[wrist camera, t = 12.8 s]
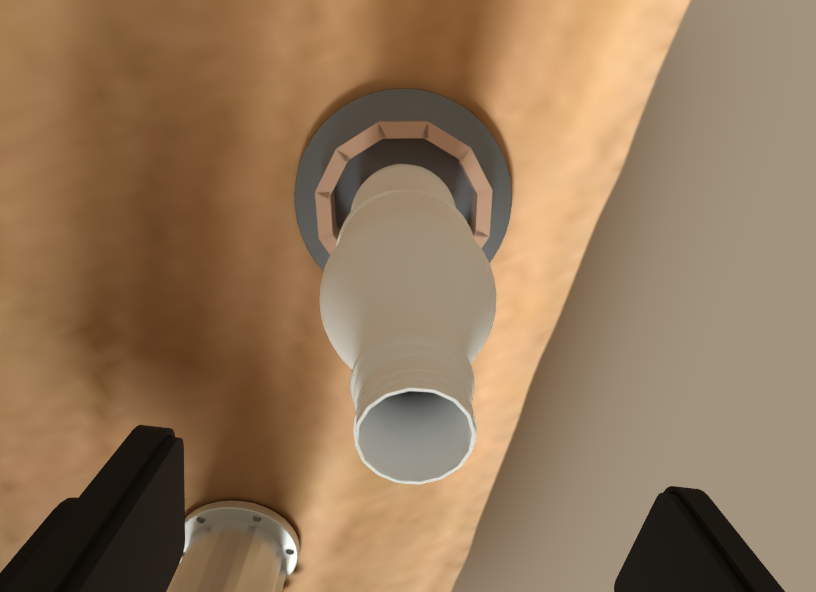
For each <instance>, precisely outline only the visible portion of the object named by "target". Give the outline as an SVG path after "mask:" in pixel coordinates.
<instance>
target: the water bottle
mask: <svg viewBox="0 0 816 592" xmlns="http://www.w3.org/2000/svg"><path fill="white" fill-rule="evenodd" d="M319 295H320V312H321V317H322V321H323V326H324V329H325V331H326V333H327V336H328V338H329V340H330V342H331V344H332V346H333V347H334V349H335V350H336V352H337V353H338V355H339V356H340V358H341V359H342V360H343V361H344V362H345V363H346V364H347V365H348V366H349V367H350V368H351V369H352V372H351V379H350V390H351V396H352V399H353V402H354V407H355V411H356V412H355V417H354V432H353V434H354V438H355V446H356V448H357V451H358V453H359V455H360V458H361V460H362V462H363V463H365V464H366V465H367V466H368V467H369V468H370V469H371V470H372V471H373V472H375V473H376V474H377V475H379V476H381V477H384V478H386V479H389V480H391V481H394V482H396V483H406V484H424V483H428V482H432V481H436V480H440V479H443V478H444V477H446V476H448V475H449V474H451V473H453V472H454V471H456V470H457V469H459V468H460V467H461V466H462V465H463V463H464V462H465V461H466V459H467V458H468V457H469V455H470V454H471V453H472V449H473V447H474V445H475V439H476V433H477V427H476V421H475V417H474V415H473V409H472V404H471V403H472V399H473V391H474V375H473V370H472V366H471V363H472V361H473V360H474V359H475V358H476V356H477V355H478V353H479V352H480V350H481V349H482V348H483V346H484V344H485V342H486V340H487V338H488V336H489V333H490V331H491V328H492V325H493V321H494V317H495V310H496V288H495V281H494V276H493V273H492V270H491V266H490V264H489V262H488V260H487V258H486V256H485V253H484V252H483V250H482V249H481V248H480V246H479V245H478V244H477V242H476V241H475V240H474V237H473V234H472V231H471V229H470V227H469V225H468V223H467V221H466V219H465V218H464V216H463V215H462V214H461V213H460V211H459V210H458V209H457V208H456V206H455V202H454V199H453V197H452V194H451V192H450V191H449V189H448V187H447V186H446V185H445V184H444V182H443V181H442V180H441V179H440V178H439V177H437V176H436V175H435V174H434V173H432V172H431V171H429V170H427V169H425V168H423V167H420V166H415V165H409V164H394V165H391V166H387V167H384V168H382V169H380V170H378V171H376V172H375V173H374V174H372V175H371V176H370V177H369V178H368V179H367V180H366V181H365V182H364V183H363V184H362V185H361V187H360V188H359V190H358V191H357V193H356V195H355V198H354V200H353V203H352V207H351V212H350V213H349V215H348V216H347V218H346V220H345V221H344V223H343V226H342V228H341V230H340V233H339V236H338V239H337V243H336V247H335V249H334V250H333V251H332V253H331V255H330V257H329V259H328V261H327V263H326V265H325V268H324V272H323V275H322V279H321V285H320V292H319Z"/></svg>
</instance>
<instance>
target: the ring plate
mask: <svg viewBox="0 0 816 592" xmlns="http://www.w3.org/2000/svg"><path fill="white" fill-rule="evenodd" d="M394 164H409V165H415V166H420V167H423V168H425V169H427V170H429V171H431V172H432V173H434V174H435V175H436V176H437V177H439V178H440V179H441V180H442V181H443V182H444V184H445V185H446V186H447V187H448V189H449V191H450V192H451V194H452V197H453V199H454V202H455V206H456V208H457V209H458V210H459V211H460V213H461V214H462V215H463V216H464V218H465V219H466V221H467V223H468V225H469V227H470V229H471V231H472V234H473V237H474V240H475V241H476V242H477V244H478V245H479V246H480V248H481V249H482V250H483V252H484V253H485V256H486V258H487V260H488V262H489V263H490V261H491V260H492V259H493V257H494V256H495V254H496V252H497V251H498V249H499V247H500V245H501V243H502V241H503V238H504V236H505V234H506V230H507V227H508V223H509V219H510V212H511V204H512V190H511V181H510V175H509V171H508V167H507V163H506V161H505V158H504V156H503V153H502V151H501V149H500V147H499V145H498V144H497V142H496V140H495V138H494V137H493V135H492V134H491V133H490V131H489V130H488V129H487V128H486V126H485V125H484V124H483V123H482V122H481V121H480V120H479V119H478V118H477V117H476V116H475V115H474V114H472V113H471V112H470V111H468V110H467V109H466V108H464V107H463V106H462V105H460V104H458V103H456V102H454V101H452V100H451V99H449V98H446V97H444V96H441V95H438V94H436V93H432V92H428V91H423V90H418V89H404V88H402V89H389V90H383V91H379V92H374V93H371V94H368V95H365V96H363V97H360V98H358V99H356V100H354V101H352V102H350V103H348V104H347V105H345V106H343V107H342V108H341V109H339V110H338V111H337V112H335V113H334V114H333V115H331V116H330V117H329V118H328V119H327V120H326V121H325V122H324V123H323V124H322V125H321V127H320V128H319V129H318V131H317V132H316V133H315V135H314V136H313V137H312V139H311V141H310V142H309V144H308V146H307V148H306V150H305V151H304V154H303V157H302V159H301V162H300V164H299V168H298V172H297V177H296V183H295V193H294V196H295V212H296V217H297V223H298V226H299V229H300V233H301V236H302V238H303V240H304V242H305V245H306V247H307V249H308V251H309V252H310V254H311V255H312V257H313V259H314V260H315V261H316V263H317V264H318V265H319V266H320V268H321V269H322V270H323V271H324V268H325V265H326V263H327V261H328V259H329V257H330V255H331V253H332V251H333V250H334V249H335V247H336V243H337V239H338V236H339V233H340V230H341V228H342V226H343V223H344V221H345V220H346V218H347V216H348V215H349V213H350V212H351V207H352V203H353V200H354V198H355V195H356V193H357V191H358V190H359V188H360V187H361V185H362V184H363V183H364V182H365V181H366V180H367V179H368V178H369V177H370V176H371V175H372V174H374V173H375V172H376V171H378V170H380V169H382V168H384V167H387V166H391V165H394Z"/></svg>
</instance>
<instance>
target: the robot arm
mask: <svg viewBox="0 0 816 592" xmlns="http://www.w3.org/2000/svg"><path fill="white" fill-rule="evenodd" d="M299 551H300V547H299V540H298V537H297V534H296V532H295V531H294V529H293V528H292V526H291V525H290V524H289V523H288V522H287V521H286V520H285V519H284V518H283V517H281V516H280V515H279V514H277V513H276V512H274V511H272V510H270V509H268V508H266V507H264V506H261V505H258V504H255V503H250V502H245V501H231V500H230V501H219V502H214V503H210V504H207V505H204V506H202V507H200V508H198V509H196V510H194V511H193V512H192V513H190V514H189V515H188V516H187V517H186V518H185V499H184V445H183V440H182V438H176V437H175V434H174V431H173V429H170V428H162V427H154V426H145V425H139V426H137V427H136V428H135V429H134V430H133V431H132V432H131V433H130V434H129V436H128V437H127V438H126V439H125V441H124V442H123V443H122V444H121V446H120V447H119V448H118V449H117V450H116V452H115V453H114V454H113V455H112V457H111V458H110V459H109V460H108V462H107V463H106V464H105V465H104V467H103V468H102V469H101V470H100V472H99V473H98V474H97V475H96V477H95V478H94V479H93V480H92V482H91V483H90V484H89V485H88V487H87V488H86V489H85V490H84V492H83V493H82V494H81V495H80V497H79V498H68V499H66V500H64V501H63V502H61V503H60V504H59V505H58V506H57V507H56V508H55V509H54V510H53V511H52V512H51V513H50V515H49V516H48V517H47V518H46V519H45V520H44V522H43V523H42V524H41V525H40V526H39V528H38V529H37V530H36V531H35V532H34V534H33V535H32V536H31V537H30V538H29V540H28V541H27V542H26V543H25V544H24V545H23V547H22V548H21V549H20V550H19V551H18V553H17V554H16V555H15V556H14V557H13V559H12V560H11V561H10V562H9V563H8V565H7V566H6V567H5V568H4V569H3V570H2V572H1V573H0V592H166V591H167V592H283V585H284V581H285V580H286V579H287V578H288V577H289V576H290V575H291V574H292V572H293V571H294V569H295V567H296V564H297V561H298V556H299ZM178 565H179V566H178ZM177 567H178V569H177ZM176 569H177V571H176ZM175 572H176V573H175ZM174 574H175V575H174ZM173 576H174V577H173ZM172 578H173V579H172ZM171 580H172V581H171ZM170 582H171V584H170ZM169 584H170V586H169ZM168 587H169V588H168ZM167 589H168V590H167ZM614 592H785V591H784V590H783V589H782V588H781V586H780V585H779V584H778V582H777V581H776V580H775V579H774V578H773V576H772V575H771V574H770V573H769V571H768V570H767V569H766V567H765V566H764V565H763V564H762V563H761V561H760V560H759V559H758V558H757V556H756V555H755V554H754V553H753V551H752V550H751V549H750V548H749V546H748V545H747V544H746V543H745V541H744V540H743V539H742V538H741V536H740V535H739V534H738V533H737V531H736V530H735V529H734V528H733V526H732V525H731V524H730V523H729V521H728V520H727V519H726V518H725V516H724V515H723V514H722V513H721V511H720V510H719V509H718V508H717V506H716V505H715V504H714V503H713V501H712V500H711V499H710V498H709V496H708V495H707V494H706V493H705V492H703V491H701V490H699V489H691V488H683V487H675V486H670V487H668V488H667V489H666V490H665V491H664V492H663V493H660V494H659V495H658V496H657V498H656V500H655V502H654V504H653V506H652V508H651V510H650V512H649V514H648V516H647V518H646V520H645V522H644V524H643V526H642V528H641V530H640V532H639V534H638V536H637V538H636V540H635V542H634V544H633V546H632V548H631V550H630V553H629V554H628V556H627V558H626V561H625V562H624V565H623V567H622V569H621V571H620V573H619V575H618V577H617V579H616V581H615V585H614Z"/></svg>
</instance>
